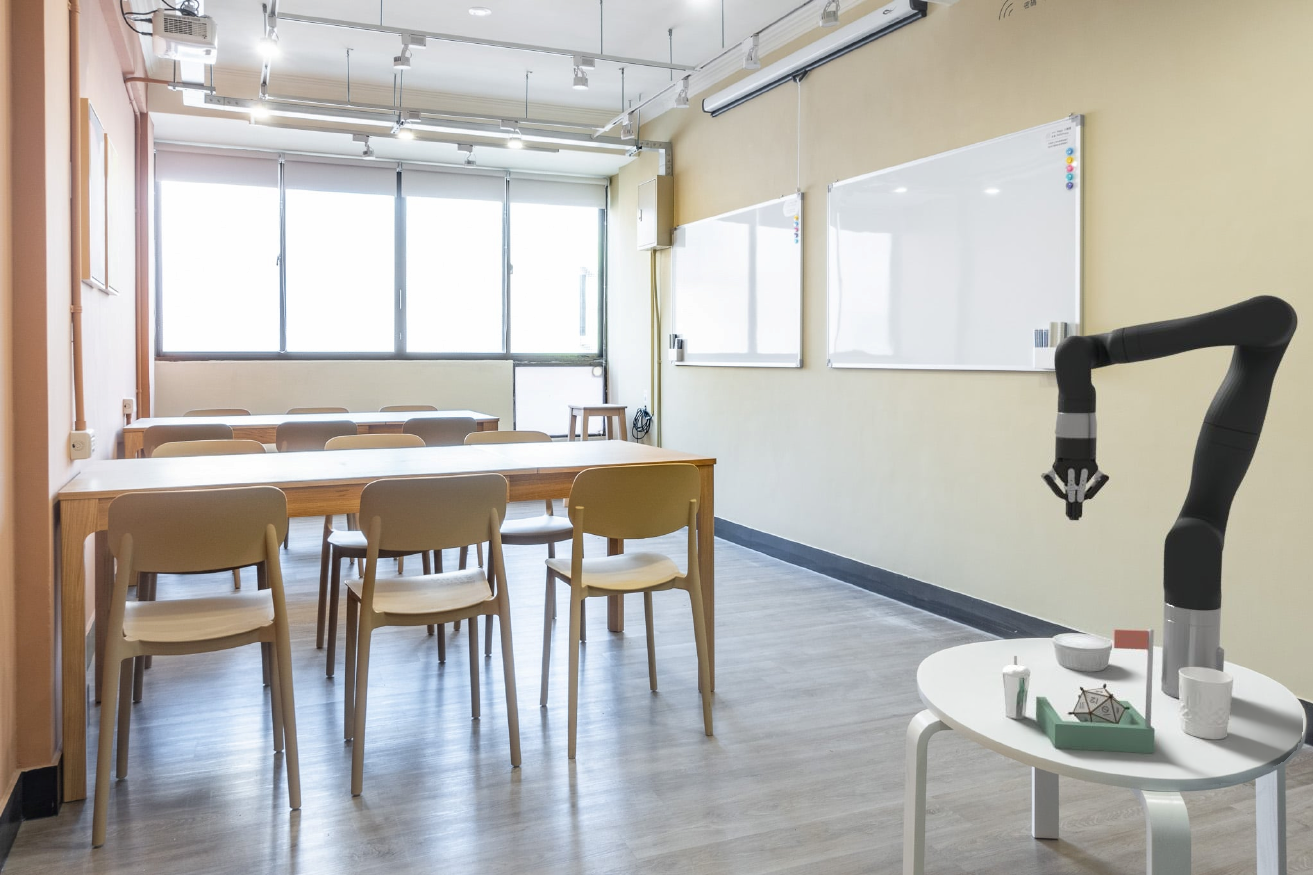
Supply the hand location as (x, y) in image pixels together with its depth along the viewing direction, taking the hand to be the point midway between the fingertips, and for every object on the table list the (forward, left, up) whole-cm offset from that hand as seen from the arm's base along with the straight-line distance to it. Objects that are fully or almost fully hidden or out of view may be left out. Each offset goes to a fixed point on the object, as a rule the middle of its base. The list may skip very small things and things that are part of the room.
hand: (1073, 519), depth 183 cm
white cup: (-13, +31, -31) cm, 46 cm away
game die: (+5, +34, -31) cm, 47 cm away
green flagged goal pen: (+6, +35, -31) cm, 47 cm away
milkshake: (+17, +28, -31) cm, 45 cm away
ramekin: (-3, -3, -31) cm, 32 cm away
